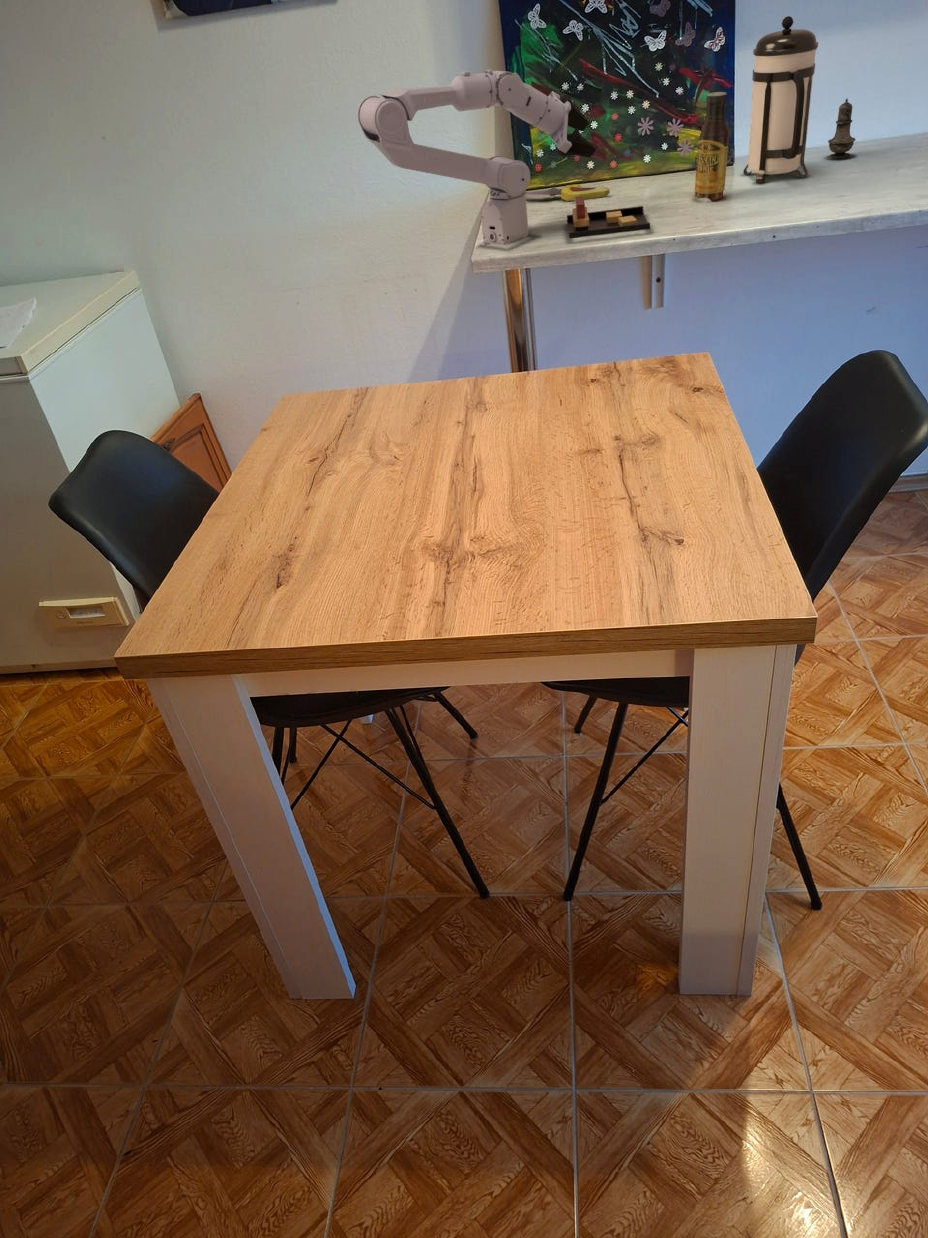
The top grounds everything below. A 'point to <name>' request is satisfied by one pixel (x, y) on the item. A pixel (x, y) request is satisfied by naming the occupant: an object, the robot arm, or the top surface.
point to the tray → (601, 226)
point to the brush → (580, 215)
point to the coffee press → (781, 101)
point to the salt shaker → (842, 134)
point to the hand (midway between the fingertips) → (589, 139)
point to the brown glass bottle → (712, 149)
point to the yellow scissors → (572, 192)
